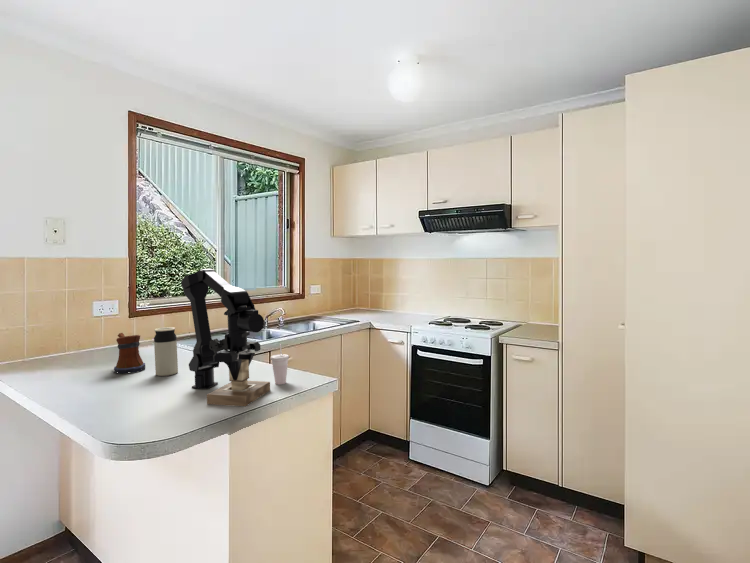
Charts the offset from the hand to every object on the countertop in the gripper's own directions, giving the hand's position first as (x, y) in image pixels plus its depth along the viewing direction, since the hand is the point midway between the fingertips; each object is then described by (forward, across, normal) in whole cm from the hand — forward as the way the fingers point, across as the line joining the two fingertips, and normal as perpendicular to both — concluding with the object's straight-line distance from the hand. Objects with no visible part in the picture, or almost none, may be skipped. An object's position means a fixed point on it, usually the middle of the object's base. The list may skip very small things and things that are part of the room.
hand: (239, 377), depth 139 cm
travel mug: (+6, -22, -45) cm, 50 cm away
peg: (+4, 0, 0) cm, 4 cm away
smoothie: (+6, -17, +6) cm, 19 cm away
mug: (+7, -26, -67) cm, 72 cm away
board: (+6, 0, 0) cm, 6 cm away
